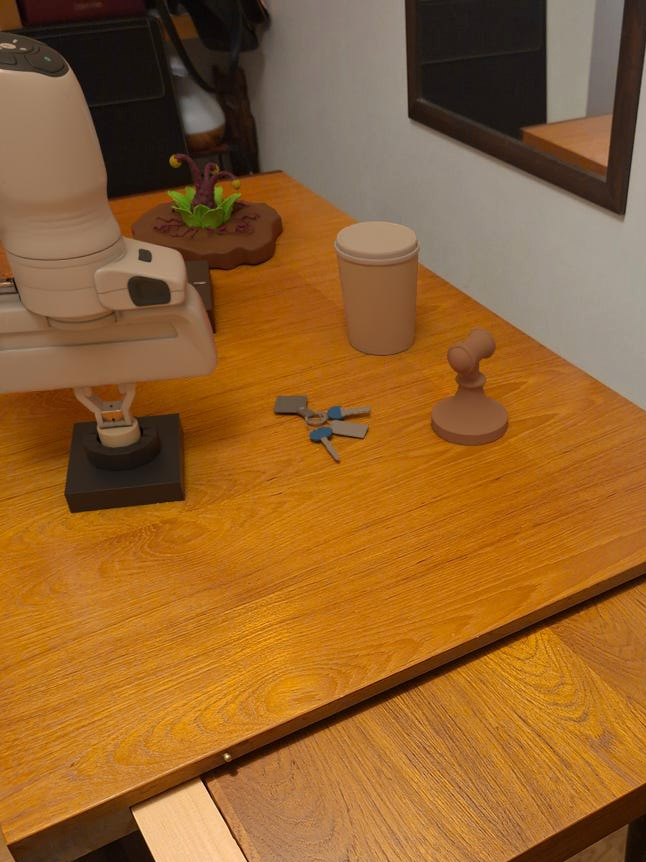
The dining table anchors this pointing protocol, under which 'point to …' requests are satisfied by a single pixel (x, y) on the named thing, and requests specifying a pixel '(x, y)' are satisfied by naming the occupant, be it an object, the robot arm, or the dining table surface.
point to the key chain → (323, 419)
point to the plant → (211, 222)
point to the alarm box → (126, 467)
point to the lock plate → (202, 285)
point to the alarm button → (119, 435)
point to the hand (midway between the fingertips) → (116, 423)
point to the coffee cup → (378, 285)
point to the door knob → (470, 396)
